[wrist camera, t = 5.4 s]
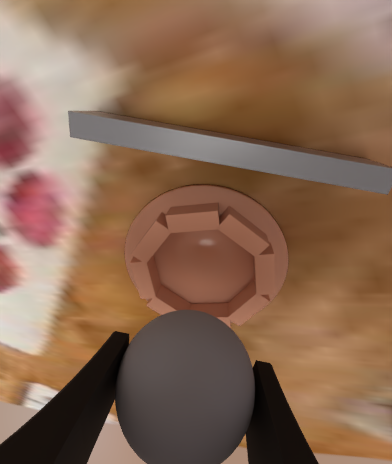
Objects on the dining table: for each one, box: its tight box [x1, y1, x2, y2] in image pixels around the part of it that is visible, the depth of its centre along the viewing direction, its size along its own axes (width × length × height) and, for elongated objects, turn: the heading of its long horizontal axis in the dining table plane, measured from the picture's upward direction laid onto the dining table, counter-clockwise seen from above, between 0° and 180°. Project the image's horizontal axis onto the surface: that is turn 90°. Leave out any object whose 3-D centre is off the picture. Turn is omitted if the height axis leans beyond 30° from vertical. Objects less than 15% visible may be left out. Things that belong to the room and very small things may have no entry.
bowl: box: [125, 184, 288, 328], centre depth 17 cm, size 12×12×2 cm
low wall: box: [68, 111, 392, 195], centre depth 13 cm, size 16×1×3 cm, turn 81°
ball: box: [115, 310, 255, 464], centre depth 10 cm, size 6×6×6 cm
